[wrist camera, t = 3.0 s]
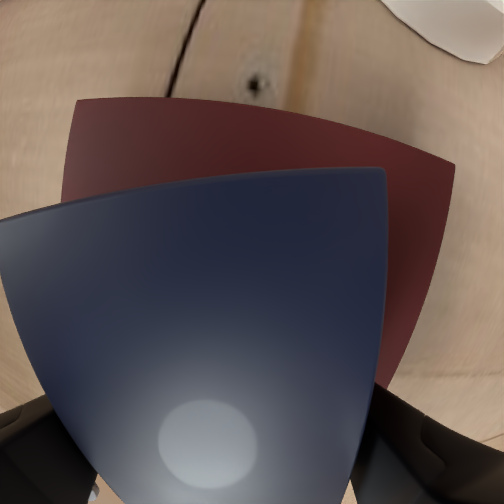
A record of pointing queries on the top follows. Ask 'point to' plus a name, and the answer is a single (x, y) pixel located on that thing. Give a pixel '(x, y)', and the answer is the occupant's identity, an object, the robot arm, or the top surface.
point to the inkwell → (456, 25)
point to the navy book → (209, 330)
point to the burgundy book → (266, 159)
